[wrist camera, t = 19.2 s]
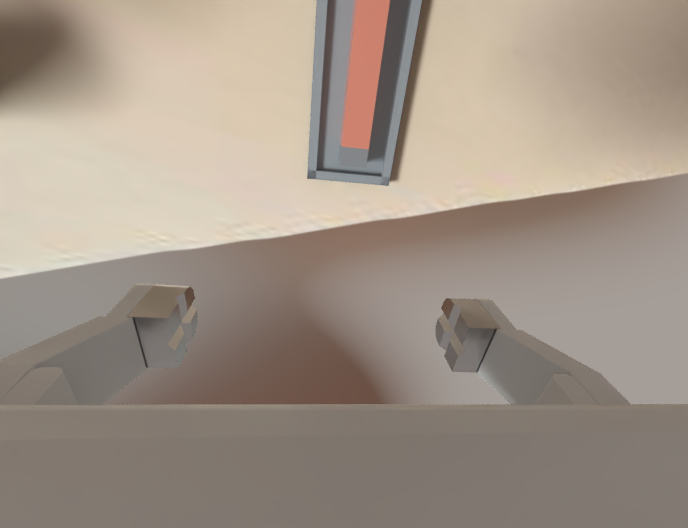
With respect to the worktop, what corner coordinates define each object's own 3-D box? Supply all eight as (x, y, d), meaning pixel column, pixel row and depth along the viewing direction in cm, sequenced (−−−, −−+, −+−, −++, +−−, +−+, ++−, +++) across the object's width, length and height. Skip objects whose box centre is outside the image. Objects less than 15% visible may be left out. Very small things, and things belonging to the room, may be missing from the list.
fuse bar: (338, 159, 37) (339, 165, 35) (358, -41, 29) (362, -54, 26) (362, 162, 38) (366, 167, 35) (389, -35, 29) (396, -47, 27)
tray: (307, 175, 39) (307, 178, 37) (322, -103, 27) (322, -113, 26) (385, 182, 40) (388, 185, 38) (432, -80, 28) (438, -89, 27)
